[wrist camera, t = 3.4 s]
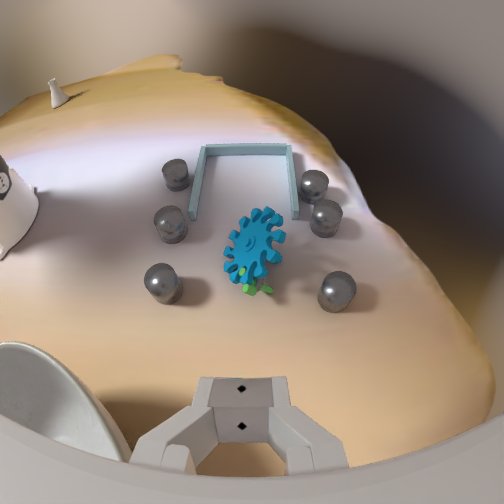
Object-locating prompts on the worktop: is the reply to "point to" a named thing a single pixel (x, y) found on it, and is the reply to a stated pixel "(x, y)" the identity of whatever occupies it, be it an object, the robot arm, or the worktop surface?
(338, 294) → the spacers
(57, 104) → the flask
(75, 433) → the decorative bowl
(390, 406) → the worktop surface
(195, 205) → the light blue u-shaped piece
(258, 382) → the robot arm
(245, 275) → the gear
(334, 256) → the worktop surface
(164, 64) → the worktop surface
